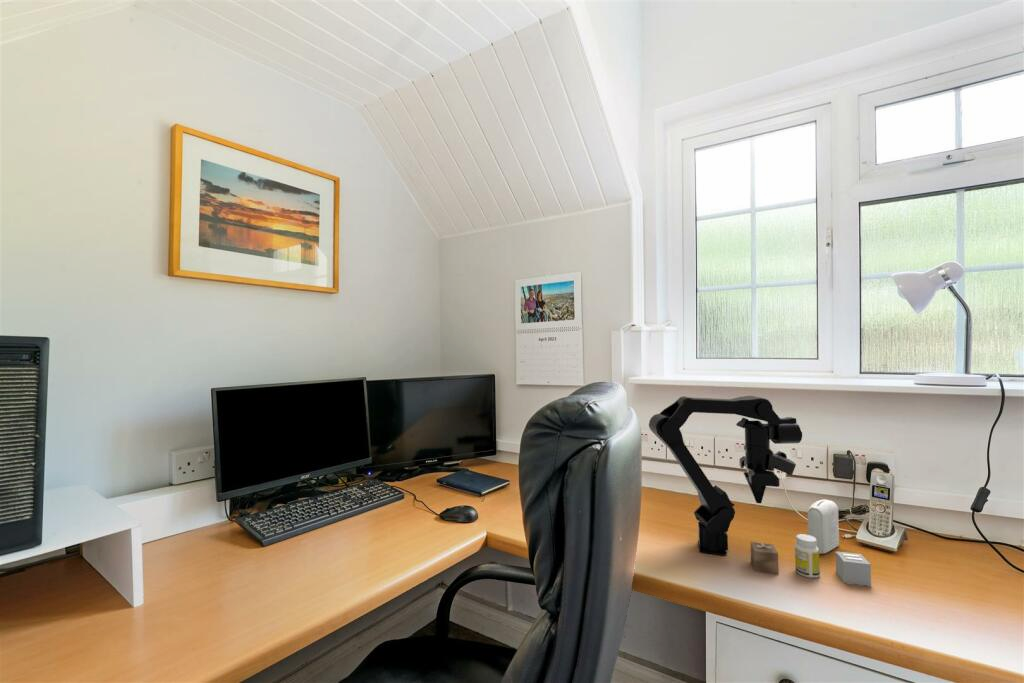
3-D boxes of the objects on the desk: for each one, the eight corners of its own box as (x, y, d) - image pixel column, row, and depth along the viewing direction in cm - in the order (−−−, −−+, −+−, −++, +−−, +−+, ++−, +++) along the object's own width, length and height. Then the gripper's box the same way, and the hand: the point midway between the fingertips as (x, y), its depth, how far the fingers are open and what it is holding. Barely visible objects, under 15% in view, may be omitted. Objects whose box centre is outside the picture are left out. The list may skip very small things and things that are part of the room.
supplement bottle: (816, 569, 106) (815, 534, 106) (822, 579, 102) (821, 543, 102) (793, 567, 108) (792, 532, 108) (798, 576, 103) (797, 540, 103)
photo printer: (823, 539, 122) (822, 494, 122) (841, 545, 118) (840, 499, 118) (805, 550, 116) (804, 502, 116) (824, 556, 113) (823, 507, 113)
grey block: (844, 583, 100) (843, 560, 100) (836, 572, 105) (835, 550, 105) (871, 586, 99) (870, 563, 99) (861, 575, 103) (860, 553, 103)
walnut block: (754, 571, 106) (754, 549, 106) (750, 562, 111) (750, 541, 111) (778, 574, 104) (778, 552, 104) (773, 564, 109) (773, 543, 109)
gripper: (802, 454, 106) (804, 519, 106) (782, 438, 124) (784, 494, 124) (750, 451, 110) (752, 514, 110) (738, 436, 128) (739, 490, 128)
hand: (758, 502), depth 118 cm, fingers closed
